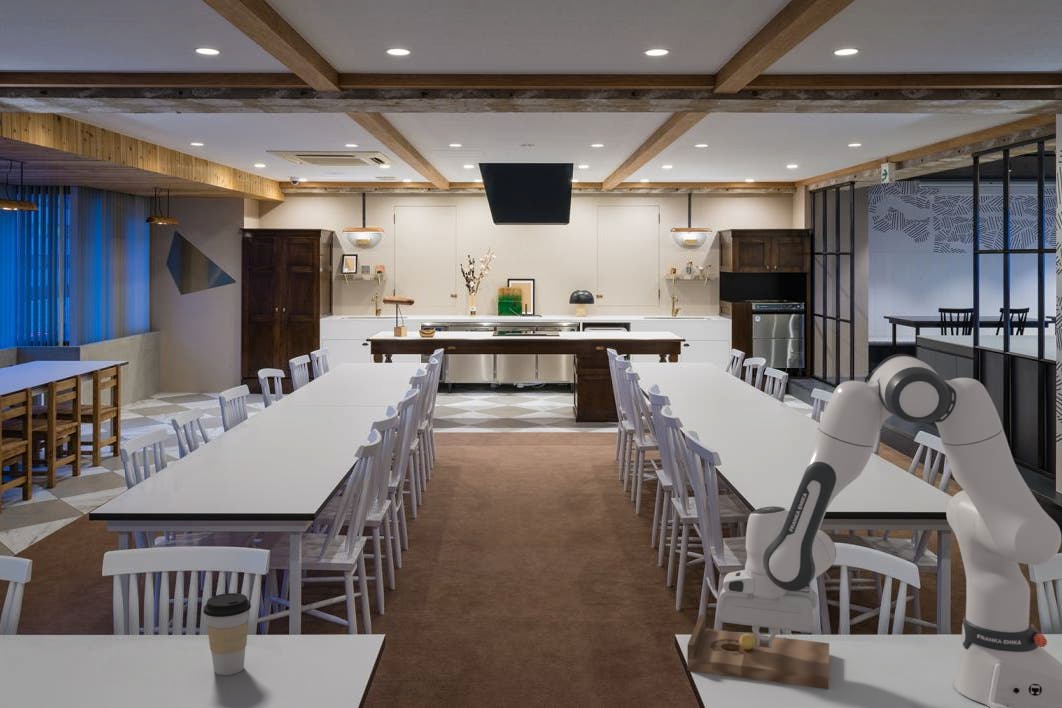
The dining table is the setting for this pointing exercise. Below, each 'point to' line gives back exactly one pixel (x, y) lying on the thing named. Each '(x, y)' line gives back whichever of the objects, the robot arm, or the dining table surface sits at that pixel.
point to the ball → (747, 642)
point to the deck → (758, 658)
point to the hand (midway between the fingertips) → (764, 646)
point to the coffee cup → (227, 631)
